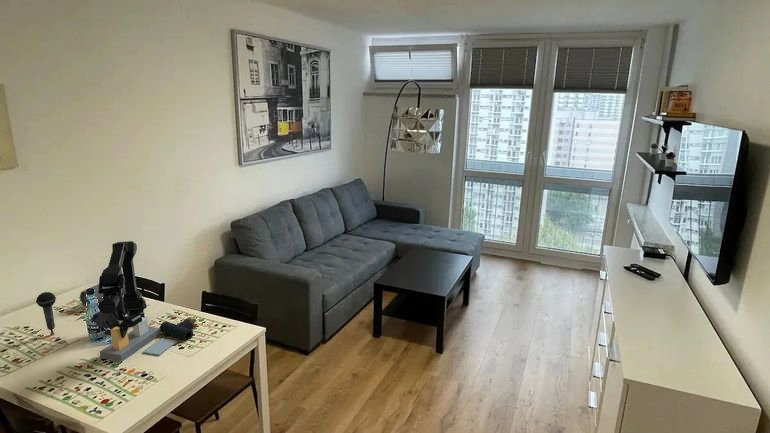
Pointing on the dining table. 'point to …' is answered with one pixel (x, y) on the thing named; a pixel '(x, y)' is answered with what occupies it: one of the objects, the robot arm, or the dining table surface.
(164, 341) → the slate mat
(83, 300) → the bluetooth speaker
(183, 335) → the pipe connector
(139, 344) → the header
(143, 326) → the grey plug
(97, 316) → the robot arm
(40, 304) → the microphone
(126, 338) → the tan rectangular block
